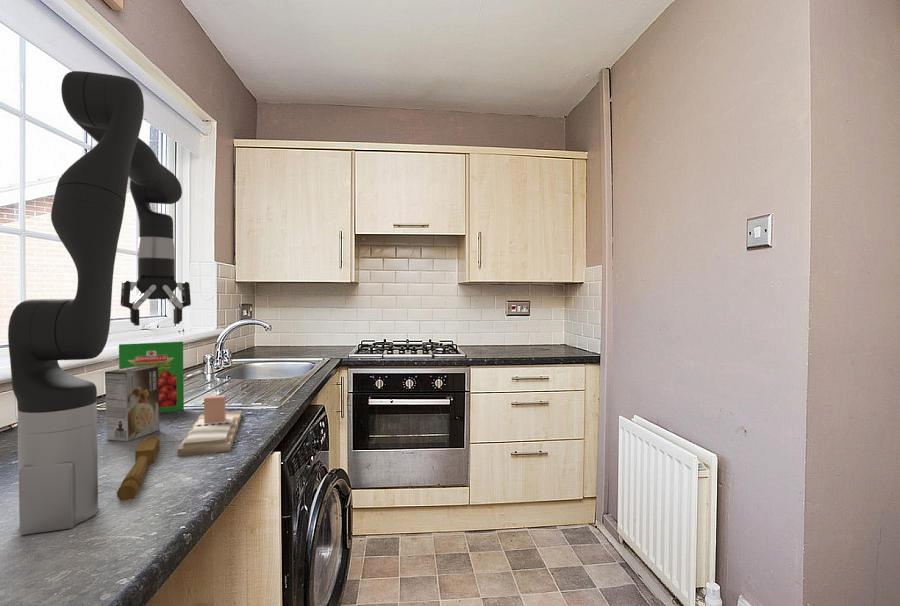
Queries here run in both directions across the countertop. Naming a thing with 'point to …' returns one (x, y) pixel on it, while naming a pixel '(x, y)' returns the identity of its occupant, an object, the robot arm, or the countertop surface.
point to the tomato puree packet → (159, 369)
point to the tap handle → (139, 468)
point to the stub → (215, 411)
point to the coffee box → (132, 402)
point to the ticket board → (210, 436)
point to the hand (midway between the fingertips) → (157, 324)
